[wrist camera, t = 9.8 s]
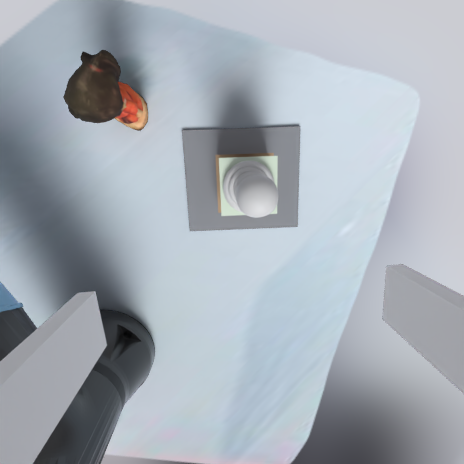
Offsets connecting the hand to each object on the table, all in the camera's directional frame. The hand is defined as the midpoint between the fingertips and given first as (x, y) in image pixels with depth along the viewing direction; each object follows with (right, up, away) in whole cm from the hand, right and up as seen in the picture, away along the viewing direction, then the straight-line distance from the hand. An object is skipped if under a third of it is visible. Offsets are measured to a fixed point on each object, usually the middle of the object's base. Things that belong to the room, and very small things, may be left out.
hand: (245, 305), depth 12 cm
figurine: (-14, +20, +23) cm, 34 cm away
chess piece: (+1, +8, +16) cm, 18 cm away
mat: (+1, +11, +26) cm, 28 cm away
